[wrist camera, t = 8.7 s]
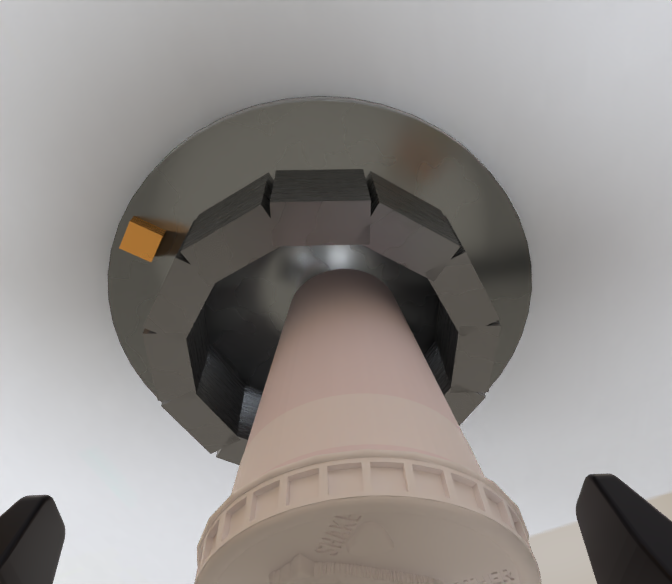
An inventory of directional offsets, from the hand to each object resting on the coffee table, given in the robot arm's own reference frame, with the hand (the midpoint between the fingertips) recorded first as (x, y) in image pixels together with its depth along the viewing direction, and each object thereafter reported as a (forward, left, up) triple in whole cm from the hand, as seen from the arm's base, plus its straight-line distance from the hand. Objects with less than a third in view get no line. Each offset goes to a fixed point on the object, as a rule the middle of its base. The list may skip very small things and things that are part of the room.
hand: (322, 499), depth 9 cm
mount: (-1, +2, -10) cm, 10 cm away
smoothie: (-2, +2, -9) cm, 9 cm away
